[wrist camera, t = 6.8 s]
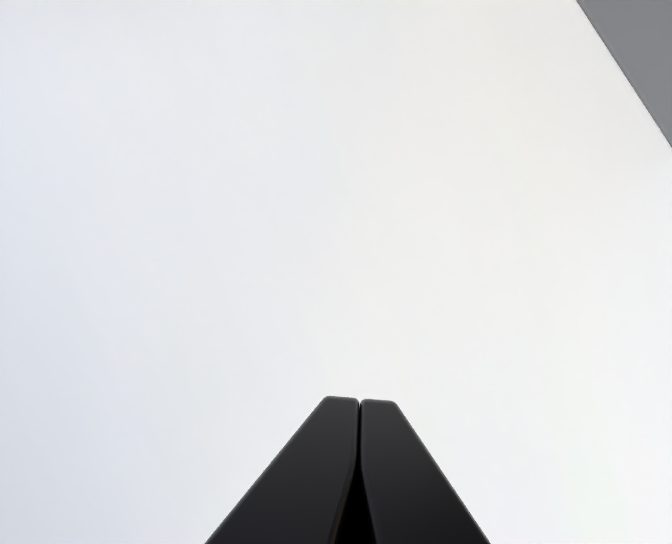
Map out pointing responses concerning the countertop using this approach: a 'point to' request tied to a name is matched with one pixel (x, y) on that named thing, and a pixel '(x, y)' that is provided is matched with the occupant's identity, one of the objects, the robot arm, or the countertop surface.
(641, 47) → the block
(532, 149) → the countertop surface
